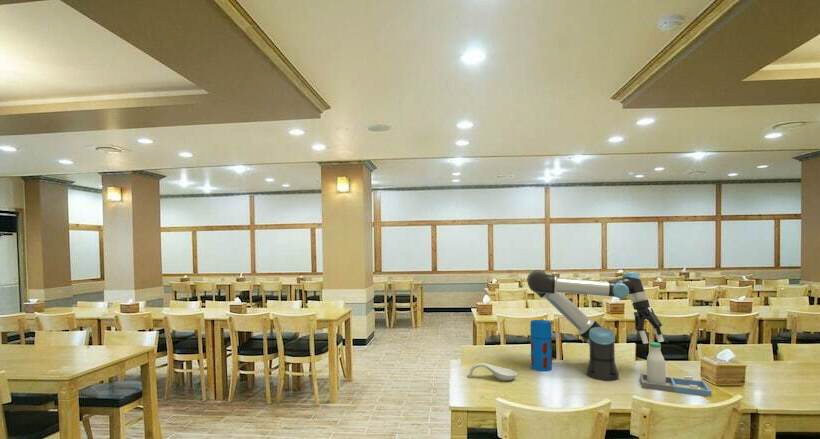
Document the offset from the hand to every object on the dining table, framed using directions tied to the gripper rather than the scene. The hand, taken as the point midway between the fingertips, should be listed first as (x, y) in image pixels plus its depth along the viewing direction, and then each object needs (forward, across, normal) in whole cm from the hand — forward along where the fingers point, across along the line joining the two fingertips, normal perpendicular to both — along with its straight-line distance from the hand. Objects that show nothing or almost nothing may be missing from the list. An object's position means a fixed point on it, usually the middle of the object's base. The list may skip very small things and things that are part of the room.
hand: (653, 342), depth 214 cm
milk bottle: (+19, -7, +9) cm, 22 cm away
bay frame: (+21, -10, +3) cm, 23 cm away
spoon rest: (+5, +6, +84) cm, 84 cm away
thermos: (+4, +20, +54) cm, 57 cm away
